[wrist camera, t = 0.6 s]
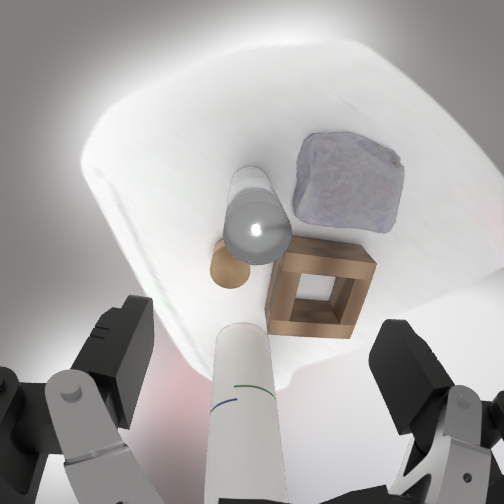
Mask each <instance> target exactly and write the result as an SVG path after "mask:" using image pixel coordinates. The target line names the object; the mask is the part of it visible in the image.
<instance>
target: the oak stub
mask: <svg viewBox="0 0 504 504" xmlns="http://www.w3.org/2000/svg"><path fill="white" fill-rule="evenodd" d="M210 274H211V277H212V279H213V281H214V282H215V283H216V284H217V285H219V286H221V287H223V288H228V289H233V288H237V287H240V286H242V285H243V284H244V283H245V282H246V281H247V280H248V278H249V275H250V264H246V263H243V262H241V261H239V260H238V259H236V258H235V257H234V256H233V255H232V254H231V253H230V252H229V250H228V249H227V247H226V245H225V242H224V238H223V239H221V240H220V241H218V243H217V244H216V245H215V247H214V251H213V256H212V261H211V266H210Z"/></svg>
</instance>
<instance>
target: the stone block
mask: <svg viewBox="0 0 504 504" xmlns="http://www.w3.org/2000/svg"><path fill="white" fill-rule="evenodd" d="M296 175H297V179H298V181H297V186H296V190H295V196H294V202H293V207H294V213H295V216H296V217H298V218H299V219H300V220H301V221H304V222H306V223H308V224H314V225H319V226H327V227H337V228H358V229H364V230H370V231H374V232H377V233H387V232H389V231H390V230H391V229H392V227H393V225H394V223H395V221H396V216H397V209H398V206H399V202H400V197H401V193H402V189H403V181H404V166H403V165H402V164H401V163H400V157H399V156H398V155H397V154H396V152H395V151H393V150H391V149H388V148H384V147H382V146H380V145H378V144H376V143H375V142H373V141H371V140H368V139H366V138H364V137H361V136H358V135H355V134H352V133H331V134H321V133H315V134H312V135H311V136H310V137H308V138H307V139H306V140H305V141H304V142H303V144H302V148H301V151H300V153H299V156H298V159H297V174H296Z"/></svg>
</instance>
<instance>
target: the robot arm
mask: <svg viewBox="0 0 504 504" xmlns="http://www.w3.org/2000/svg"><path fill="white" fill-rule="evenodd" d="M153 346H154V320H153V300H152V298H149V297H142V296H135V295H129V296H128V297H127V299H126V301H125V302H124V304H123V306H122V308H121V309H119V308H114V307H113V308H111V309H110V310H108V311H107V312H105V313H104V314H102V315H101V317H100V318H99V320H98V322H97V323H96V325H95V328H93V330H92V332H91V334H90V337H88V338H87V340H86V342H85V344H84V345H83V347H82V349H81V351H80V352H79V354H78V356H77V358H76V360H75V361H74V363H73V365H72V367H71V368H70V370H63V371H60V372H58V373H56V374H55V375H53V376H52V377H51V378H50V379H49V380H48V382H47V383H23V382H19V380H18V378H17V376H16V374H15V373H14V372H13V371H12V370H11V369H9V368H6V367H0V504H35V500H36V496H37V492H38V489H39V485H40V481H41V478H42V474H43V471H44V467H45V464H46V460H47V457H48V455H49V454H63V455H64V457H65V462H64V468H65V471H66V474H67V477H68V479H69V482H70V484H71V486H72V488H73V491H74V493H75V495H76V498H77V500H78V502H79V504H165V503H164V502H163V501H162V499H161V497H160V496H159V495H158V493H157V492H156V490H155V489H154V487H153V486H152V484H151V483H150V481H149V480H148V478H147V476H146V475H145V473H144V472H143V470H142V469H141V467H140V465H139V463H138V462H137V460H136V459H135V457H134V455H133V454H132V452H131V450H130V449H129V447H128V446H127V444H125V443H124V442H123V440H122V438H121V436H120V435H119V433H118V431H117V430H118V427H119V428H124V429H128V430H129V429H130V425H131V421H132V418H133V414H134V411H135V407H136V404H137V400H138V397H139V394H140V390H141V387H142V384H143V380H144V377H145V374H146V371H147V367H148V364H149V361H150V358H151V355H152V352H153ZM369 367H370V370H371V372H372V374H373V376H374V378H375V380H376V383H377V385H378V387H379V389H380V392H381V394H382V396H383V399H384V401H385V403H386V405H387V408H388V410H389V412H390V415H391V417H392V419H393V422H394V424H395V426H396V429H397V431H398V434H399V435H404V434H409V433H412V434H413V436H414V437H413V438H412V439H411V440H410V442H409V444H408V447H407V450H406V454H405V456H404V459H403V462H402V465H401V467H400V470H399V473H398V476H397V478H396V481H395V482H394V484H393V486H392V487H391V489H390V490H389V491H388V490H387V487H386V485H382V486H377V487H372V488H367V489H362V490H357V491H351V492H349V493H346V494H343V495H341V496H338V497H336V498H334V499H331V500H328V501H325V502H322V503H320V504H504V475H502V473H501V471H500V468H499V466H498V464H497V462H496V459H495V457H494V455H493V453H492V451H491V448H492V447H493V446H494V445H495V444H496V443H497V442H498V441H499V440H500V439H501V438H502V439H503V441H504V391H501V392H499V393H498V395H497V396H496V397H495V398H494V400H493V401H492V402H491V401H481V400H480V398H479V396H478V395H477V394H476V393H475V392H474V391H473V390H472V389H470V388H468V387H466V386H463V385H456V386H455V384H454V383H453V381H452V380H451V378H450V377H449V375H448V374H447V373H446V371H445V369H444V368H443V366H442V365H441V363H440V362H439V360H437V357H436V356H435V354H434V353H432V350H431V349H430V347H429V346H428V344H427V343H426V342H425V341H424V340H423V339H422V338H421V337H420V336H418V335H417V334H416V333H415V332H414V330H413V329H412V327H411V326H410V325H409V323H408V322H407V321H406V320H396V319H387V320H385V321H384V322H383V324H382V326H381V328H380V331H379V333H378V335H377V338H376V340H375V343H374V345H373V347H372V349H371V351H370V354H369ZM218 504H289V503H283V502H277V501H272V500H267V499H232V498H219V500H218Z"/></svg>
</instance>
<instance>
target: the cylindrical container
mask: <svg viewBox="0 0 504 504" xmlns="http://www.w3.org/2000/svg"><path fill="white" fill-rule="evenodd" d="M219 498H232V499H267V500H272V501H277V502H283V503H288V496H287V488H286V479H285V470H284V462H283V453H282V445H281V437H280V429H279V420H278V412H277V404H276V395H275V387H274V379H273V371H272V363H271V355H270V347H269V339H268V336H267V334H266V333H265V332H264V331H263V330H262V329H261V328H259V327H258V326H255V325H253V324H248V323H237V324H232V325H230V326H227V327H226V328H224V329H223V330H222V331H221V332H220V333H219V334H218V336H217V339H216V347H215V358H214V369H213V380H212V393H211V405H210V418H209V431H208V446H207V461H206V477H205V495H204V504H218V500H219Z"/></svg>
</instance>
